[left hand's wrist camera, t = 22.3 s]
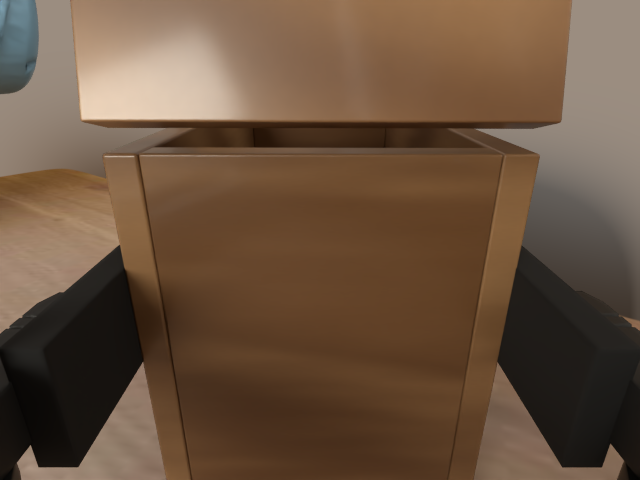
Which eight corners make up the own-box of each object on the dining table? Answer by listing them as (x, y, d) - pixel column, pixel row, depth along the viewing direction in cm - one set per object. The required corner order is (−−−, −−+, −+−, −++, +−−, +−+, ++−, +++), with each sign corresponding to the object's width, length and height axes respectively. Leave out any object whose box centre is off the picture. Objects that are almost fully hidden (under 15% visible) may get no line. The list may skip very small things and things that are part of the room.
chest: (251, 268, 28) (239, 98, 24) (386, 268, 28) (399, 99, 24) (171, 507, 13) (99, 153, 9) (468, 507, 13) (541, 154, 9)
